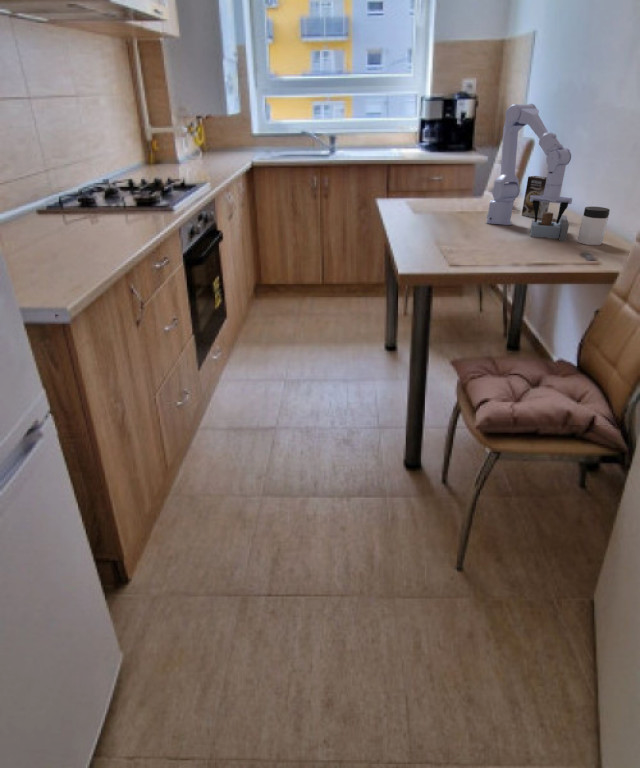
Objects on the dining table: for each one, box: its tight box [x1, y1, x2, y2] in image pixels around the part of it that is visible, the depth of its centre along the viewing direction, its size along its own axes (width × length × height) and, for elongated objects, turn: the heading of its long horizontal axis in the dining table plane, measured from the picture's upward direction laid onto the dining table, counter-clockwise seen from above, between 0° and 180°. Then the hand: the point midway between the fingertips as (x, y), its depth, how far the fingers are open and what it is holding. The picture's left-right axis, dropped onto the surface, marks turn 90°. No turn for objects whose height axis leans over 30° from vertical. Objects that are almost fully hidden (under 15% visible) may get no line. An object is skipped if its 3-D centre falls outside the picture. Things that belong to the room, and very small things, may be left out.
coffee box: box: [520, 175, 551, 219], centre depth 246 cm, size 9×6×16 cm
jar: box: [576, 206, 611, 246], centre depth 205 cm, size 9×8×12 cm
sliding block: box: [529, 219, 561, 239], centre depth 217 cm, size 10×10×4 cm
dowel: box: [541, 212, 554, 226], centre depth 216 cm, size 4×4×8 cm
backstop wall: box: [558, 214, 570, 242], centre depth 215 cm, size 2×18×6 cm, turn 162°
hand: (546, 222), depth 216 cm, fingers open, 7 cm apart
